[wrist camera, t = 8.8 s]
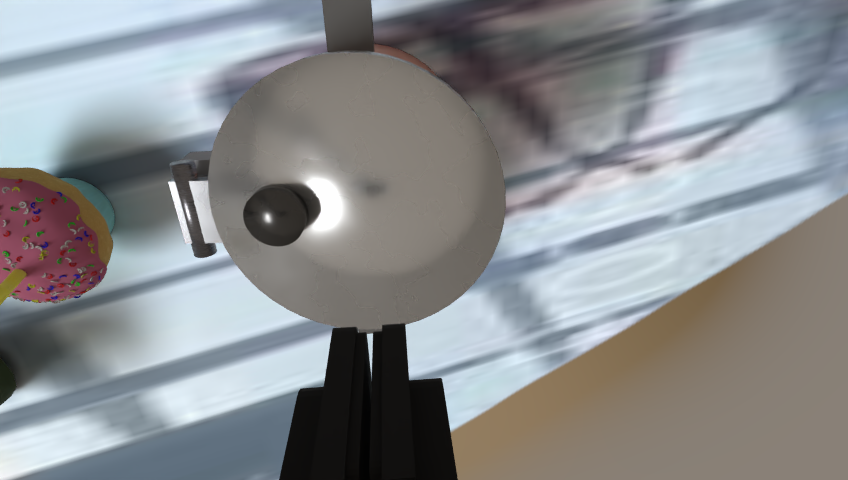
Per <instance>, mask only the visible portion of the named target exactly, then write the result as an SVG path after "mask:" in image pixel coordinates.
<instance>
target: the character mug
mask: <svg viewBox="0 0 848 480" xmlns="http://www.w3.org/2000/svg"><path fill="white" fill-rule="evenodd" d="M16 387H17V386H16V382H15V378H14V374H13V373H12V372H11V370H10V369H9V368H8V366H7V365H6V364H5V363H4V361H3V360H2V359H0V405H1V404H3V403H4V402H5V401H6V400H7V399H8V398H10V397H11V396H12V394H13V392H14V390H15V389H16Z"/></svg>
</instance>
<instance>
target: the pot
mask: <svg viewBox="0 0 848 480" xmlns="http://www.w3.org/2000/svg"><path fill="white" fill-rule="evenodd" d="M322 5H323V14H324V23H325V32H326V41H327V50H328V52H334V51H344V50H353V51H370V52H375V53H381V54H386V55H391V56H394V57H397V58H400V59H403V60H406V61H409V62H411V63H413V64H415V65H417V66H419V67H421V68H424V69H426V70H428V71H429V72H431V73H432V74H434V75H435V76H437V75H436V74H435V73H434V72H433V71H432V70H431V69H430V68H429V67H427V66H426V65H425V64H424V63H423V62H421V61H420V60H418V59H417V58H415V57H414V56H412V55H410V54H408V53H406V52H404V51H402V50H399V49H396V48H393V47H390V46H385V45H379V44H374V36H373V22H372V7H371V0H322ZM211 153H212V151H202V152H190V153H189V154H188V155H186V156H185V157H183V158H182V159H181V160H194V161H195V165H196V169H197V173H198V175H208V173H209V164H210V157H211ZM375 331H382V329H371V330H365V329H358V332H359V333H361V332H366V333H367V334H370V333H373V332H375Z"/></svg>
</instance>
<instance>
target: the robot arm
mask: <svg viewBox="0 0 848 480" xmlns="http://www.w3.org/2000/svg"><path fill="white" fill-rule="evenodd" d="M279 480H458V479H457V473H456V466H455V460H454V453H453V446H452V440H451V433H450V427H449V420H448V414H447V407H446V401H445V395H444V388H443V382H442V378H436V379H423V380H409V374H408V359H407V344H406V329H405V323H401V324H386V325H382V331H375V332H373V357H372V381H371V371H370V361H369V351H368V342H367V333H366V332H361V333H358V329H357V327H342V328H333V330H332V336H331V343H330V349H329V356H328V363H327V369H326V376H325V382H324V387H316V388H303V389H300V390H299V392H298V396H297V400H296V404H295V409H294V414H293V418H292V423H291V428H290V432H289V437H288V442H287V446H286V451H285V456H284V460H283V465H282V469H281V474H280V479H279Z"/></svg>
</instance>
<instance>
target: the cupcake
mask: <svg viewBox="0 0 848 480" xmlns="http://www.w3.org/2000/svg"><path fill="white" fill-rule="evenodd" d="M114 223H115V215H114V211H113V208H112V205H111V203H110V202H109V200H108V199H107V198H106V196H105V195H104V194H103V193H102V192H101V191H100V190H98V189H97V188H96V187H94V186H93V185H91V184H89V183H87V182H84V181H82V180H78V179H74V178H57V177H54V176H52V175H50V174H48V173H46V172H44V171H42V170H39V169H35V168H0V305H1V304H2V303H3V301H4V300H5V299H6V298H7V297H11V296H12V297H13V298H14V299H17V298H18V299H19V300H21V301H23V302H24V301H25V300H26V301H29V302H30V301H33V302H36V303H41V302H52V303H60V301H63V300H67V299H70V298H73V297H74V298H79V297H80V296H81V295H82V294H83V293H85V292H87V291H89V290H91V289H92V288H94V287H96V286H97V285H98V284H99V283H100V282H101V281H102V279H103V278H104V276H105V274H106V271H107V265H108V263H109V260H110V257H111V253H112V249H113V240H112V237H111V235H110V234H111V231H112V229H113V227H114ZM76 296H79V297H76ZM23 299H24V300H23ZM54 301H55V302H54Z"/></svg>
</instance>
